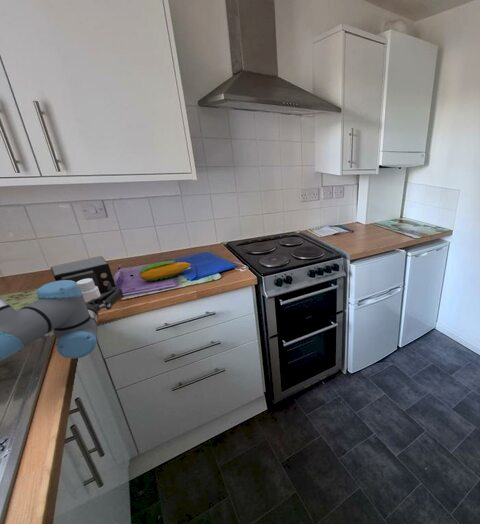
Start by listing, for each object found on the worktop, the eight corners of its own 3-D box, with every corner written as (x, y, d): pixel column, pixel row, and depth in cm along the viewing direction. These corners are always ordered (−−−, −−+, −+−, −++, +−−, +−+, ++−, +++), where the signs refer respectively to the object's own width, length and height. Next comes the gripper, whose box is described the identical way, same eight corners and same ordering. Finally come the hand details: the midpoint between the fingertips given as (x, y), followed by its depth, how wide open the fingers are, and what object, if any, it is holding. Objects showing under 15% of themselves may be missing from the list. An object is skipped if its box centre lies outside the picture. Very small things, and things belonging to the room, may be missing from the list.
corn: (135, 264, 128) (186, 253, 140) (140, 279, 131) (189, 268, 143) (138, 270, 123) (191, 259, 135) (143, 286, 126) (194, 274, 138)
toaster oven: (61, 293, 120) (49, 266, 115) (110, 280, 130) (101, 255, 126) (65, 304, 112) (53, 276, 107) (117, 290, 122) (108, 263, 118)
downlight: (74, 309, 108) (64, 285, 104) (90, 300, 115) (81, 276, 111) (96, 310, 108) (87, 285, 104) (111, 300, 115) (103, 277, 111)
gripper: (25, 346, 81) (39, 312, 97) (136, 317, 95) (132, 290, 110) (14, 323, 78) (30, 291, 94) (129, 296, 92) (126, 272, 108)
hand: (85, 291), depth 102 cm, fingers open, 13 cm apart
